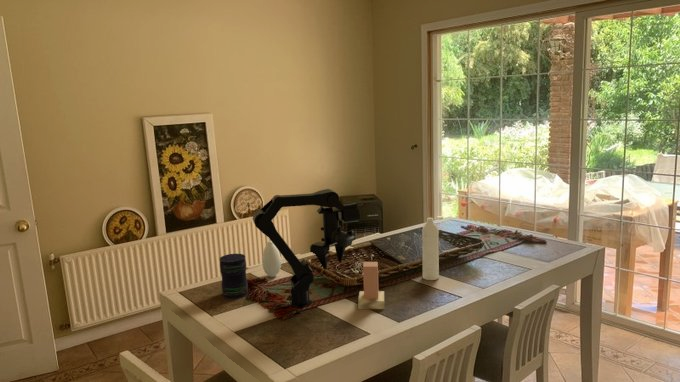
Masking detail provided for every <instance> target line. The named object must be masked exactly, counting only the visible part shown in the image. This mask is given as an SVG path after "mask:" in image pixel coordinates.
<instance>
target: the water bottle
mask: <svg viewBox="0 0 680 382" xmlns="http://www.w3.org/2000/svg"><path fill="white" fill-rule="evenodd" d="M426 218H427V219H426V223H425V224H424V226H423V227H422V232H421V234H422V236H421V237H422V239H421V242H422V243H421V245H422V251H421V252H422V256H421V257H422V260H421V261H422V278H423V279H424V280H426V281H435V280H438V279H439V278H440V270H439V269H440V268H439V266H440V265H439V262H440V261H439V259H440V258H439V256H440V254H439V251H440V249H439V247H440V246H439V245H440V244H439V240H440V239H439V231H440V230H439V228H438V226H437V225H436V223H435V221H434V217H426ZM436 220H440V221H441V220H444V216H443V215H438V216H436Z"/></svg>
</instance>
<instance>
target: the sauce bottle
mask: <svg viewBox="0 0 680 382" xmlns="http://www.w3.org/2000/svg"><path fill="white" fill-rule="evenodd" d="M261 258H262V259H261V264H262V269H263V271H264V273H265V274H266V275H267V276H268V277H271V278H274V277H276V276H277V275H278V274H279V273H280V270H281V269H282V268H281V267H282V258H281V253H280V252H279V250H278V249H277V248H276V246H275V245H274V244H273V242H272V241H271V240H270V239H269V240H268V241H267V242H266V245H265V247H264V249H263V252H262V257H261Z"/></svg>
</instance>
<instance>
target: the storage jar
mask: <svg viewBox="0 0 680 382" xmlns="http://www.w3.org/2000/svg"><path fill="white" fill-rule="evenodd" d="M219 271H220V275H221V291H222V297H223V298H224V299H226V300H238V299H242V298H244V297H247V295H249V291H248V290H249V285H248V284H249V283H248V279H247V262H246V255H245V254H242V253H229V254H225V255H223V256H220V257H219Z"/></svg>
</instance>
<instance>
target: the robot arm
mask: <svg viewBox="0 0 680 382" xmlns="http://www.w3.org/2000/svg"><path fill="white" fill-rule="evenodd" d="M302 206H303V207H304V206H306V207H307V206H317V207H318V206H319V208H318V209H316V213H318V214H319V215H322V226H321V227H320V231H323V237H322V238H321V242H320V241H317V242H315V243H312V244H311V245H309V250H310V253H312V254H313V255H315V256H316V258H317V259H318V261H319V262H320V265H321V266H322V268H323V269H324V270H327V269H328V256H329V255H330V254H331V251H330V250H331V249H330V247H331V246H334V249H335V253H336V257H337V261H338V262H339V263H341V262H343V258H344V254H345V252H346V248H348V247H349V246H350V247H351V246H352V244H353V241H355V240H356V234H355V231H354V230H352V229H351V230H349V231H343V227H342V226H341V225H340V223H339V222H340V221H341V222H342V223H343V224H346V223H355V222H359V221H360V217H361V214H360V210H359V207H358V203H356V202H353V203H348V204H347V203H346V204H345V203H344V204H343V203H342V202H341V201H340V196H339V193H337V192H336V191H334V190H332V188H331V189H330V188H325V189H321V190H318V191H316V192H312V193H299V194H283V195H281V194H276V195H274V196H273V197H272V198H271V199H269V201H268V202H267V203H265V204H264V205H263V206H262V207H261V208H260V209H258V210H256V211H254V213H253V215H252V221H253V223H254V225H255V228H257V229H258V230H259V231H260V232H261V233H262V234H264V235H265V237H267V238H268V239H269V241H270V240H271V241H272V242H273V244H274V245H275V246H276V248H277V249H278V251H279V253H280V255H282V257H283V258H284V260H285V261H286V262H287V263H288V265H289V266H290V268H291V269H292V272H293V275H292V276H291V277H290V278H289V282H290V285H291V289H290V297H291V298H290V301H289V302H288V305H289V303H290V304H291V305H290V306H292V305H295V306H298V307H297V308H299V307H300V308H299V309H303V308H304V307H307V306H308V305H310V304H312V303H313V300H312V299H310V286H311V284H313V282H314V278H315V275H314V270H313V269H312V267H311V266H310V265H309V263H308V262H307V261H306V260H305V258H303V259H302V260H301V259H299V258H298V257H297V255H296V254H295V253H294V251H293V250H292V248H290V246H289V245H288V244H287V242H286V241H285V240H284V238H283V237H282V236H281V234H280V233H279V232H278V229H276V226H275V224H274V222H273V220H274V218H275V217H276V216H277V215H278V213H279V212H280V210H281V209H282V208H290V207H302ZM295 306H294V307H295Z"/></svg>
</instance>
